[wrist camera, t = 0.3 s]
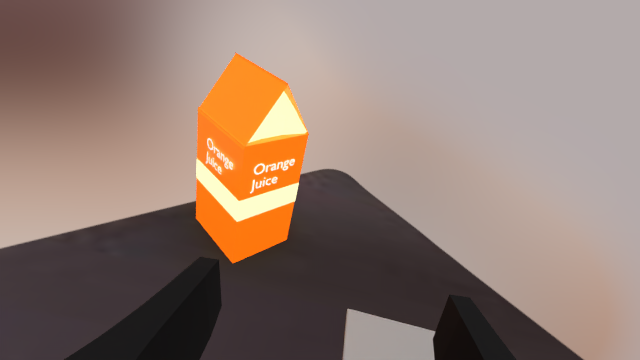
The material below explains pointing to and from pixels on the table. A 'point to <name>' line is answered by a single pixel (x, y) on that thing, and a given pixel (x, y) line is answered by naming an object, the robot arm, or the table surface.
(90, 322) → the table surface
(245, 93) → the orange juice
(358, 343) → the mat
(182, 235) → the table surface
